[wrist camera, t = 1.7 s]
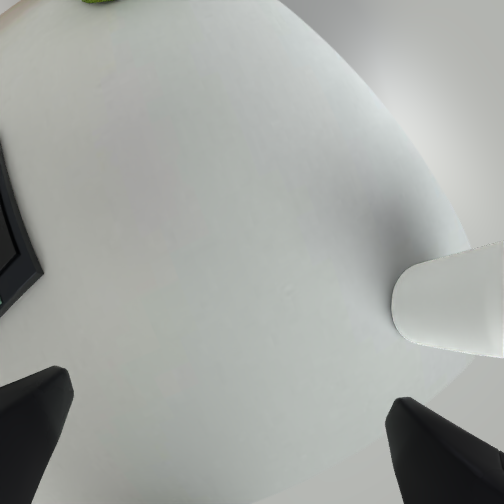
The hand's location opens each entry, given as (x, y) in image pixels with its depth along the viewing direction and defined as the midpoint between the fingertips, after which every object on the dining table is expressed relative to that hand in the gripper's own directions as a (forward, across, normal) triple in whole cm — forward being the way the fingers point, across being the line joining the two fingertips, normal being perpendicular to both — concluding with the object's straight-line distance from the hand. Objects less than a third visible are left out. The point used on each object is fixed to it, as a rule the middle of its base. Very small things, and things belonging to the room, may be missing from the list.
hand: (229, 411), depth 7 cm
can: (+14, -14, +2) cm, 20 cm away
